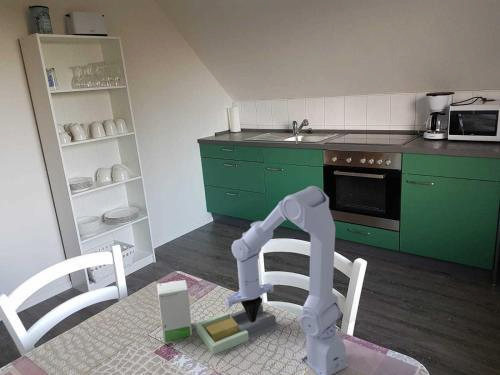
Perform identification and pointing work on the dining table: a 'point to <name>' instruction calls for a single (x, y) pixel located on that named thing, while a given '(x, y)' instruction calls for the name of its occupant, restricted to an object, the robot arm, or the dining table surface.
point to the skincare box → (174, 310)
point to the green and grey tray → (245, 326)
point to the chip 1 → (216, 332)
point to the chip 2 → (230, 327)
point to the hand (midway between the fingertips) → (252, 320)
